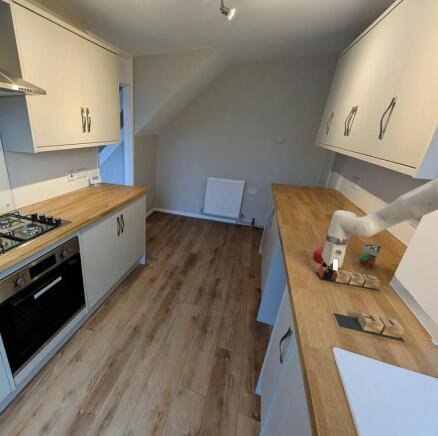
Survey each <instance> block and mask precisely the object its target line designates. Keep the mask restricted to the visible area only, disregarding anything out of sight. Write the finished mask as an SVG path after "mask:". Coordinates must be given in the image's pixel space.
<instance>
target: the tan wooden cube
mask: <svg viewBox="0 0 438 436" xmlns="http://www.w3.org/2000/svg"><path fill="white" fill-rule="evenodd" d="M358 318H359V319H358V322H359V323H360V325H361V327H362V328H363V330H367V331H371V332H375V333H380V332H381V330H382V328H383V326H384V325H383V323H382V322H381V320H380V319H379V316H378V315H376V314H370V313H366V312H362V311H361V312H360V314H359V317H358Z"/></svg>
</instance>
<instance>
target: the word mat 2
mask: <svg viewBox="0 0 438 436" xmlns="http://www.w3.org/2000/svg"><path fill="white" fill-rule="evenodd" d="M332 313H333V316H334V317H335V320H336V322H337V325H338V327H340V328H342V329H347V330H352V331H356V332H360V333H363V334H368V335H373V336H377V337H381V338H386V339H389V340H393V341H398V342H402V343H406V341H405V340H404V338H403V337H402V336H401V337H400V338H396V337H392V336H388V335H384V334H382V333H381V332H380V333H375V332H371V331H367V330H363V328H362V327H361V325H360V323H359V322H358V319H359V317H355V316H354V317H353V316H349V315H346V314H341V313H337V312H336V313H335V312H332Z"/></svg>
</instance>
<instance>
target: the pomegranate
mask: <svg viewBox="0 0 438 436" xmlns="http://www.w3.org/2000/svg"><path fill="white" fill-rule="evenodd" d="M324 246H325V245H322V246H320V247H318V248H315V250H314V251H313V254H312V257H313V259H314V260H315V262H316V263H318V264H320V265H322V261H323V258H322V253H323V249H324ZM330 265H333V264H330Z"/></svg>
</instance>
